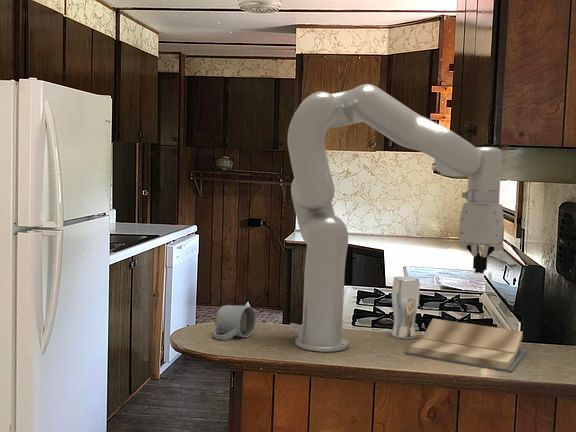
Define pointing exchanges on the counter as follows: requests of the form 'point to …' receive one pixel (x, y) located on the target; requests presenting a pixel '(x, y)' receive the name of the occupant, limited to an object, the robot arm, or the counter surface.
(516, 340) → the loose plank
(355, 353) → the counter surface
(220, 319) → the ceramic mug
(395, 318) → the beer glass
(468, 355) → the board
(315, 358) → the counter surface
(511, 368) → the underlay mat
